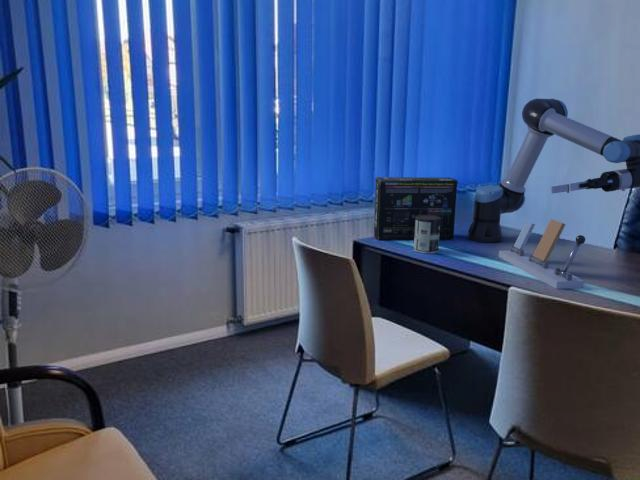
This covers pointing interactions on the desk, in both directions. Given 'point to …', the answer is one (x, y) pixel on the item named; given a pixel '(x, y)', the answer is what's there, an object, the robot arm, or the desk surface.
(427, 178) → the router box
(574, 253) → the grey metal toggle
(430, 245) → the coffee can
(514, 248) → the pale blue paddle
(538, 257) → the brown paddle
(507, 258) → the switch panel
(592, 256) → the desk surface
